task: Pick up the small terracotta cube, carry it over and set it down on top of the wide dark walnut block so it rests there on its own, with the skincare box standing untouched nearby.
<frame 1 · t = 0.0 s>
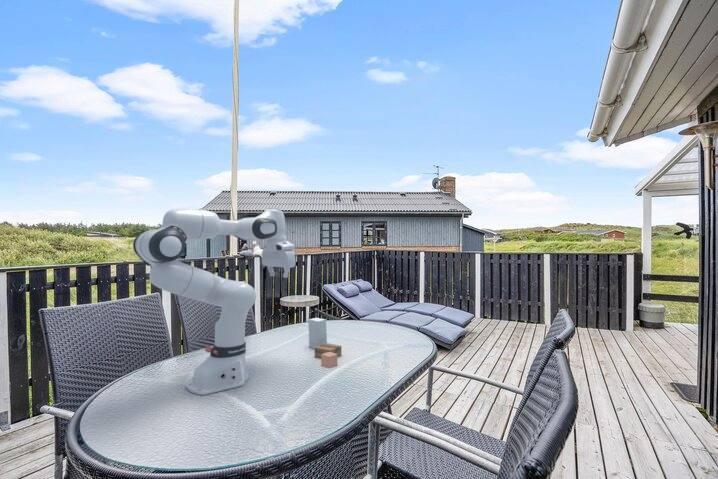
hand: (279, 276, 159), 39 cm above the table, tool pointing down, fingers open, 8 cm apart
terracotta cube: (329, 365, 159), on the table
walnut block: (328, 357, 171), on the table
skincare box: (317, 348, 184), on the table
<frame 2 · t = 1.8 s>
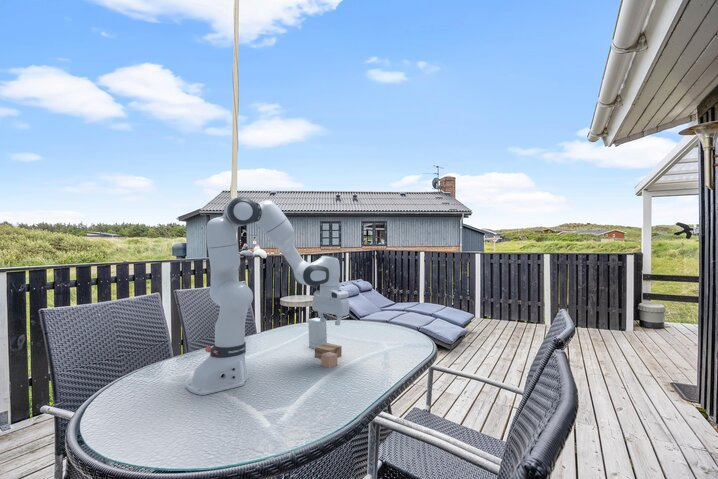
hand: (329, 323, 159), 18 cm above the table, tool pointing down, fingers open, 8 cm apart
nothing on the table moved.
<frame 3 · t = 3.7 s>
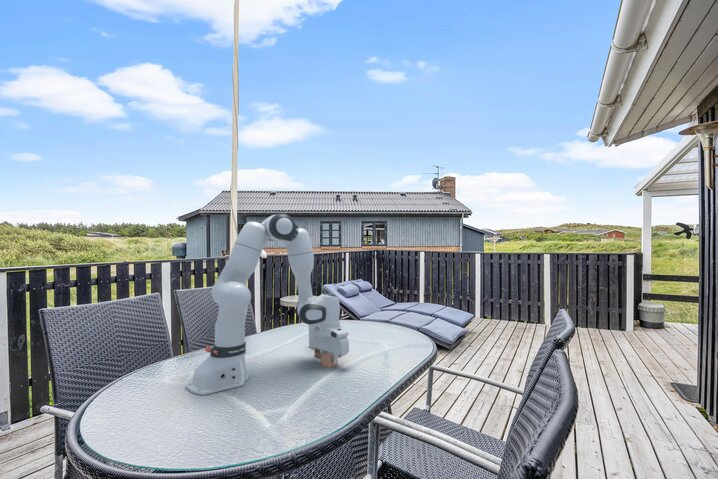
hand: (329, 361, 159), 2 cm above the table, tool pointing down, fingers closed on terracotta cube, 5 cm apart
terracotta cube: (329, 365, 159), on the table, touching gripper
everything else where it was.
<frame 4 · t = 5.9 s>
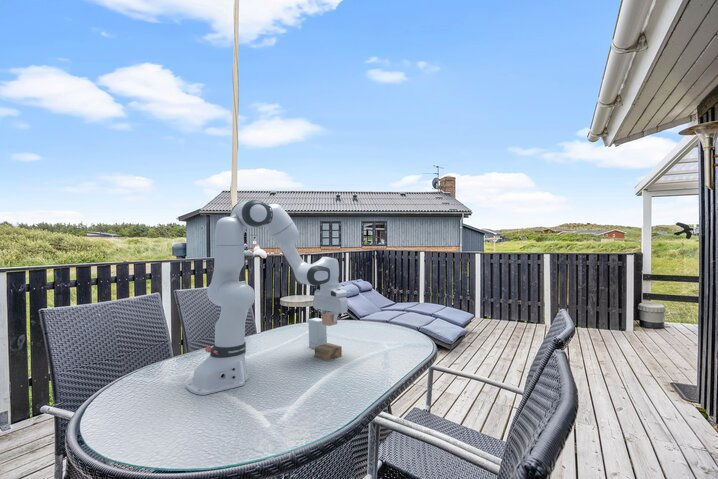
hand: (329, 320, 168), 18 cm above the table, tool pointing down, fingers closed on terracotta cube, 5 cm apart
terracotta cube: (329, 324, 168), point 16 cm above the table, touching gripper
everything else where it was.
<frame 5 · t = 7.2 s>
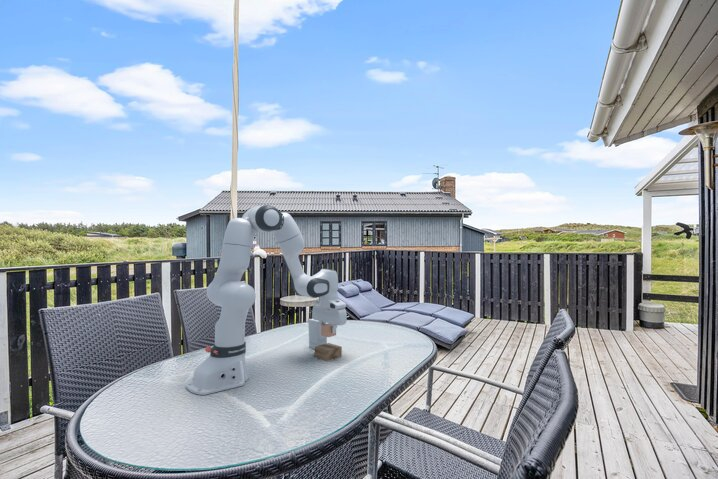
hand: (328, 331, 171), 12 cm above the table, tool pointing down, fingers closed on terracotta cube, 5 cm apart
terracotta cube: (328, 335, 171), point 10 cm above the table, touching gripper
everything else where it was.
when the fingers open (8 cm above the table, at t = 8.3 s): terracotta cube drops 1 cm, point 5 cm above the table.
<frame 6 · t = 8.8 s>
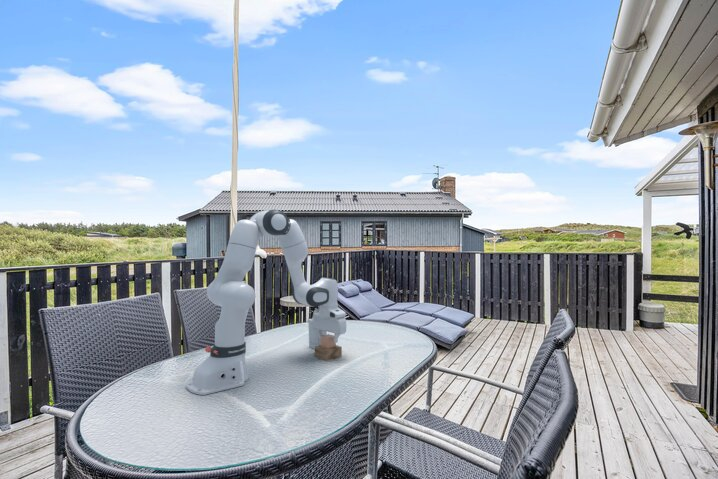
hand: (328, 340, 171), 8 cm above the table, tool pointing down, fingers open, 8 cm apart
terracotta cube: (328, 346, 171), point 5 cm above the table
everything else where it was.
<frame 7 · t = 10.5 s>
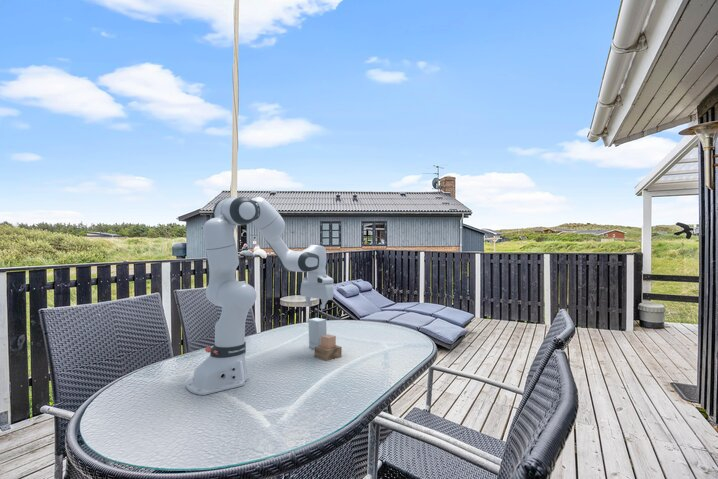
hand: (315, 307, 172), 23 cm above the table, tool pointing down, fingers open, 8 cm apart
nothing on the table moved.
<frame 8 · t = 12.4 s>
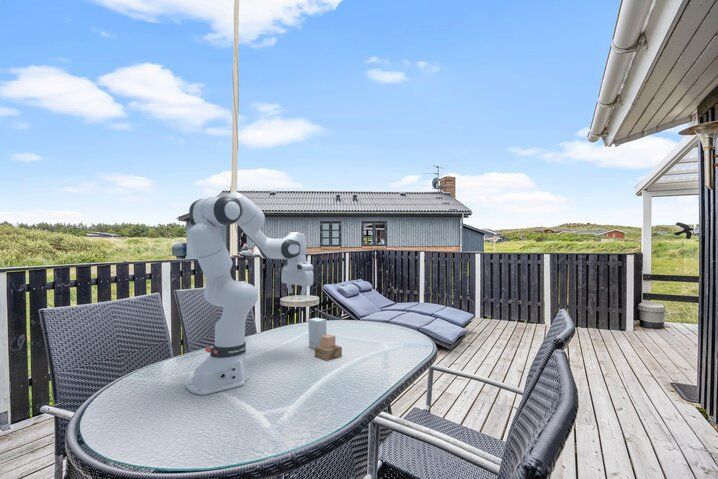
hand: (296, 293, 174), 29 cm above the table, tool pointing down, fingers open, 8 cm apart
nothing on the table moved.
at the end: terracotta cube 0.2 cm off-centre on the walnut block, point 5.0 cm above the walnut block's base; terracotta cube tilted 0°; the gripper is holding nothing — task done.
